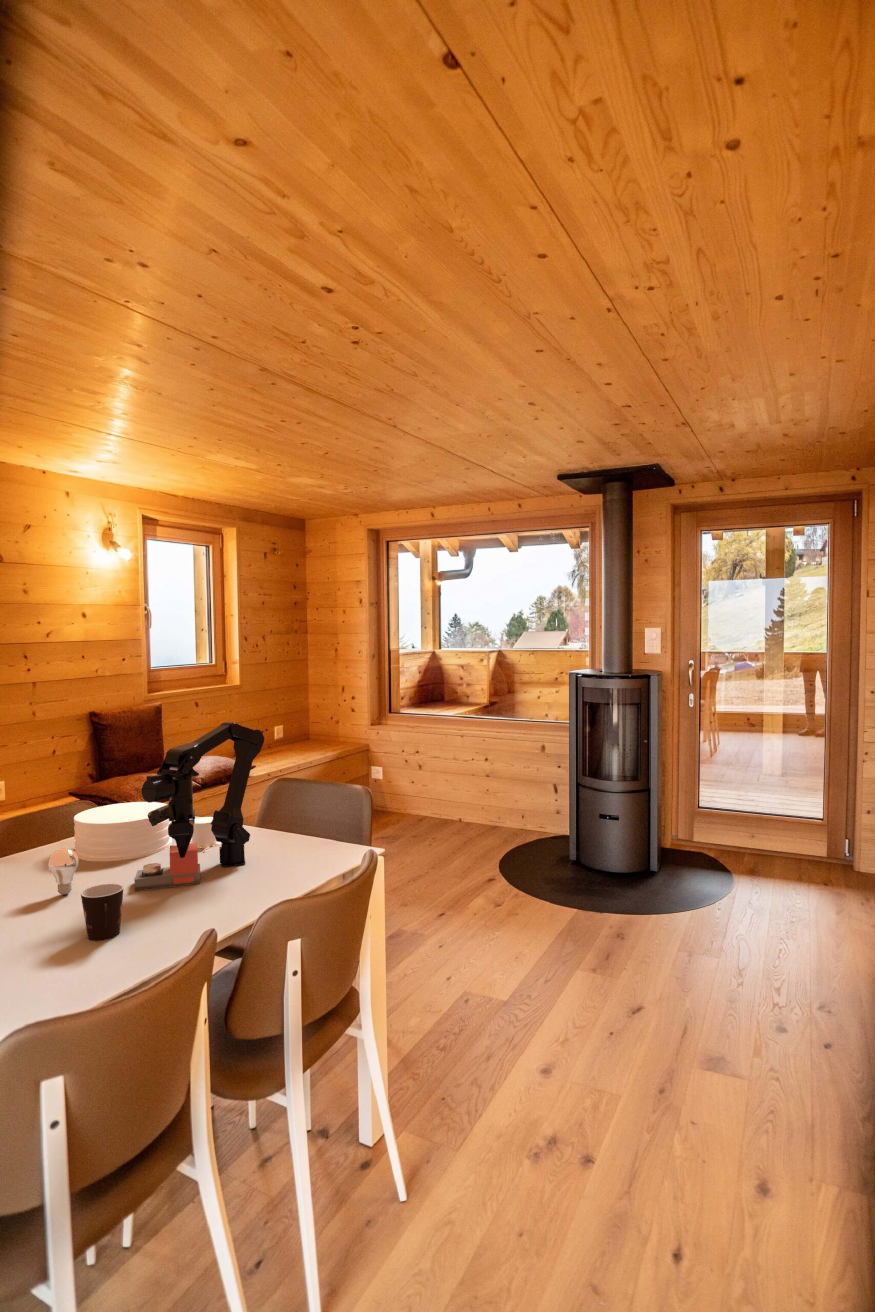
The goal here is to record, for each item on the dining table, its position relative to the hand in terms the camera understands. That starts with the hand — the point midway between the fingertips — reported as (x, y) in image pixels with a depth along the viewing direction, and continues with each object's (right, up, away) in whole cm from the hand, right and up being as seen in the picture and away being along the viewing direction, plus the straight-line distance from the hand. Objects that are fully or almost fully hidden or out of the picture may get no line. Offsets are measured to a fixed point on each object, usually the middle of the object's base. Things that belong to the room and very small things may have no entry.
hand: (183, 852), depth 197 cm
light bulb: (-27, -9, -9) cm, 30 cm away
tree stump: (-5, -7, +35) cm, 36 cm away
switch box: (-4, -8, -1) cm, 9 cm away
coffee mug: (-5, -9, -36) cm, 38 cm away
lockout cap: (0, -5, 0) cm, 5 cm away
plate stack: (-30, -8, +33) cm, 46 cm away
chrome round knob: (-8, -5, -2) cm, 9 cm away
